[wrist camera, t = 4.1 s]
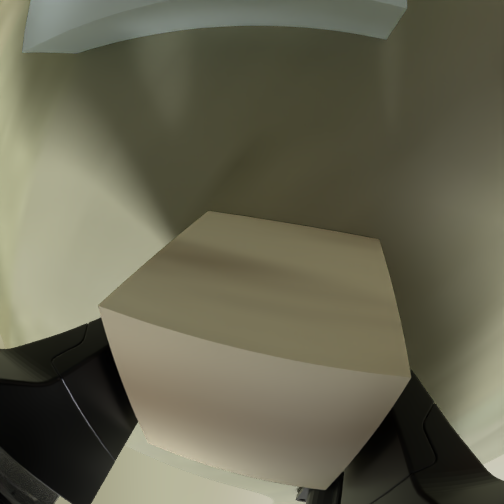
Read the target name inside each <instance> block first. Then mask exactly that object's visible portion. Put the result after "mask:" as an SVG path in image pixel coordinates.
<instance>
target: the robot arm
mask: <svg viewBox="0 0 504 504" xmlns="http://www.w3.org/2000/svg"><path fill="white" fill-rule="evenodd" d="M410 373H411V379H410V380H409V382H408V384H407V385H406V387H405V388H404V390H403V392H402V393H401V395H400V396H399V398H398V399H397V401H396V402H395V404H394V405H393V407H392V408H391V410H390V411H389V413H388V414H387V416H386V417H385V418H384V420H383V421H382V423H381V424H380V425H379V427H378V428H377V429H376V431H375V432H374V433H373V435H372V436H371V437H370V439H369V440H368V441H367V443H366V444H365V445H364V446H363V448H362V449H361V450H360V451H359V453H358V454H357V455H356V456H355V457H354V459H353V460H352V461H351V462H350V463H349V465H348V466H347V467H346V468H345V469H344V472H342V473H341V474H340V475H339V476H338V477H337V478H336V479H335V480H334V481H333V482H332V484H331V485H330V486H329V487H328V488H327V489H326V490H320V489H312V488H305V487H302V489H301V490H300V491H299V493H298V494H297V497H296V500H297V501H302V502H306V504H504V481H502V480H500V479H498V478H496V477H494V476H493V475H492V474H491V473H490V472H488V471H487V469H486V468H485V467H484V466H483V465H482V464H481V462H480V461H479V460H478V459H477V457H476V456H475V455H474V454H473V452H472V451H471V450H470V449H469V447H468V446H467V445H466V444H465V443H464V441H463V440H462V439H461V438H460V436H459V435H458V434H457V433H456V431H455V430H454V429H453V427H452V426H451V425H450V423H449V422H448V421H447V419H446V418H445V416H444V415H443V414H442V412H441V411H440V409H439V408H438V406H437V405H436V404H435V403H434V401H433V399H432V398H431V396H430V395H429V394H428V392H427V391H426V389H425V388H424V387H423V385H422V384H421V382H420V381H419V379H418V378H417V377H416V375H415V374H414V373H413V371H412V370H411V368H410ZM433 403H434V404H433ZM137 423H138V420H137V418H136V415H135V413H134V410H133V408H132V406H131V403H130V401H129V398H128V396H127V393H126V391H125V388H124V385H123V383H122V380H121V377H120V375H119V372H118V369H117V366H116V363H115V360H114V357H113V354H112V351H111V348H110V345H109V342H108V339H107V336H106V332H105V329H104V325H103V322H102V318H99V319H96V320H94V321H91V322H89V324H87V323H86V324H84V325H81V326H79V327H77V328H74V329H71V330H69V331H66V332H63V333H60V334H57V335H54V336H51V337H48V338H45V339H42V340H38V341H35V342H32V343H29V344H25V345H22V346H19V347H15V348H11V349H0V504H55V502H56V501H57V499H58V498H59V496H61V497H63V498H64V499H65V500H67V501H69V502H70V503H71V504H91V503H92V501H93V499H94V498H95V496H96V494H97V492H98V490H99V489H100V487H101V485H102V483H103V482H104V480H105V478H106V477H107V475H108V473H109V471H110V469H111V468H112V466H113V464H114V462H115V460H116V459H117V457H118V455H119V454H120V452H121V450H122V448H123V447H124V445H125V443H126V442H127V440H128V438H129V436H130V435H131V433H132V431H133V430H134V428H135V426H136V424H137Z"/></svg>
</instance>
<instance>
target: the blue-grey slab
mask: <svg viewBox="0 0 504 504" xmlns="http://www.w3.org/2000/svg"><path fill="white" fill-rule="evenodd" d="M406 10H407V0H31V1H30V6H29V11H28V16H27V21H26V27H25V34H24V41H23V48H22V53H31V52H46V53H74V54H77V53H80V52H83V51H87V50H90V49H93V48H97V47H100V46H104V45H108V44H112V43H116V42H120V41H124V40H129V39H133V38H138V37H143V36H148V35H154V34H160V33H166V32H173V31H181V30H189V29H198V28H210V27H225V26H288V27H303V28H315V29H324V30H333V31H340V32H347V33H353V34H359V35H365V36H370V37H375V38H380V39H384V40H386V39H387V38H388V37H389V35H390V34H391V32H392V31H393V29H394V28H395V26H396V25H397V23H398V22H399V20H400V19H401V17H402V16H403V14H404V13H405V11H406Z"/></svg>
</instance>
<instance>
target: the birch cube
mask: <svg viewBox="0 0 504 504" xmlns="http://www.w3.org/2000/svg"><path fill="white" fill-rule="evenodd" d="M98 307H99V311H100V315H101V318H102V322H103V325H104V329H105V332H106V336H107V339H108V342H109V345H110V348H111V351H112V354H113V357H114V360H115V363H116V366H117V369H118V372H119V375H120V377H121V380H122V383H123V385H124V388H125V391H126V393H127V396H128V398H129V401H130V403H131V406H132V408H133V410H134V413H135V415H136V418H137V420H138V422H139V424H140V427H141V429H142V431H143V433H144V435H145V437H146V440H147V442H148V443H149V444H152V445H154V446H156V447H159V448H161V449H164V450H166V451H169V452H171V453H174V454H177V455H179V456H182V457H185V458H188V459H190V460H193V461H196V462H199V463H202V464H205V465H209V466H212V467H215V468H218V469H222V470H225V471H229V472H232V473H236V474H240V475H244V476H248V477H252V478H256V479H261V480H265V481H270V482H275V483H280V484H286V485H292V486H298V487H305V488H312V489H320V490H326V489H327V488H328V487H329V486H330V485H331V484H332V482H333V481H334V480H335V479H336V478H337V477H338V476H339V475H340V474H341V473H342V471H343V470H344V469H345V468H346V467H347V466H348V465H349V463H350V462H351V461H352V460H353V459H354V457H355V456H356V455H357V454H358V453H359V451H360V450H361V449H362V448H363V446H364V445H365V444H366V443H367V441H368V440H369V439H370V437H371V436H372V435H373V433H374V432H375V431H376V429H377V428H378V427H379V425H380V424H381V423H382V421H383V420H384V418H385V417H386V416H387V414H388V413H389V411H390V410H391V408H392V407H393V405H394V404H395V402H396V401H397V399H398V398H399V396H400V395H401V393H402V392H403V390H404V388H405V387H406V385H407V384H408V382H409V380H410V379H411V373H410V367H409V361H408V355H407V350H406V344H405V339H404V334H403V329H402V325H401V320H400V315H399V311H398V307H397V303H396V298H395V294H394V290H393V286H392V283H391V279H390V275H389V271H388V268H387V264H386V261H385V257H384V254H383V250H382V247H381V244H380V240H379V239H375V238H370V237H364V236H359V235H354V234H348V233H343V232H337V231H331V230H326V229H320V228H314V227H308V226H303V225H297V224H291V223H284V222H278V221H272V220H266V219H259V218H253V217H247V216H240V215H233V214H226V213H220V212H213V211H207V212H206V213H205V214H204V215H202V216H201V217H200V218H199V219H198V220H196V221H195V222H194V223H193V224H191V225H190V226H189V227H188V228H186V229H185V230H184V231H183V232H182V233H180V234H179V235H178V236H177V237H176V238H174V239H173V240H172V241H171V242H170V243H168V244H167V245H166V246H165V247H164V248H163V249H161V250H160V251H159V252H158V253H157V254H155V255H154V256H153V257H152V258H151V259H150V260H148V261H147V262H146V263H145V264H144V265H143V266H142V267H140V268H139V269H138V270H137V271H136V272H135V273H134V274H132V275H131V276H130V277H129V278H128V279H127V280H126V281H125V282H123V283H122V284H121V285H120V286H119V287H118V288H117V289H116V290H115V291H113V292H112V293H111V294H110V295H109V296H108V297H107V298H106V299H105V300H104V301H102V302H101V303H100V304H99V305H98Z"/></svg>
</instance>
